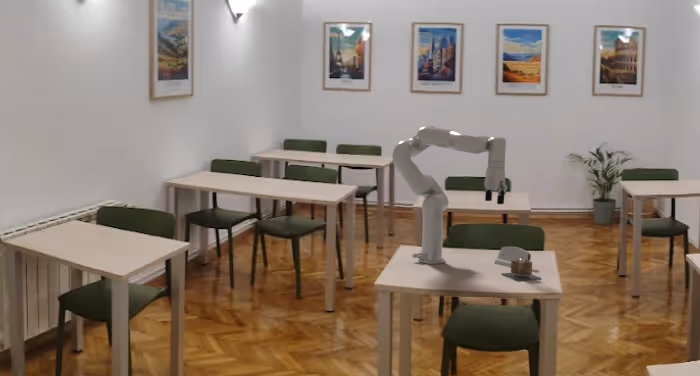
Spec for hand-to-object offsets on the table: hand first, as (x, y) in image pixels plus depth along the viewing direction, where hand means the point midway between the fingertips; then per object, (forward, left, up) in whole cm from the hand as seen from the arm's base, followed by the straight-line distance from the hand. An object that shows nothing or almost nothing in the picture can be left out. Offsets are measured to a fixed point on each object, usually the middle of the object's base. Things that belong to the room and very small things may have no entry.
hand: (494, 202), depth 359 cm
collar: (+3, -19, -29) cm, 34 cm away
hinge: (+12, 0, -31) cm, 33 cm away
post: (+3, -19, -30) cm, 36 cm away
